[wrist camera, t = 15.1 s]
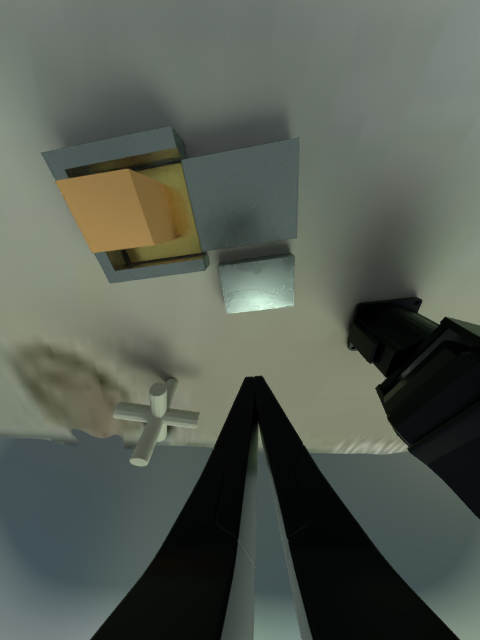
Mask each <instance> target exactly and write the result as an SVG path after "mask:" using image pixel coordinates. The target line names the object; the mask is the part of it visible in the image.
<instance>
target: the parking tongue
mask: <svg viewBox="0 0 480 640" xmlns="http://www.w3.org/2000/svg"><path fill="white" fill-rule="evenodd" d="M294 261H295V256H294V255H293V254H291V253H288V254H280V255H273V256H266V257H258V258H251V259H244V260H237V261H229V262H222V263H219V265H218V270H219V275H220V280H221V286H222V291H223V296H224V301H225V306H226V311H227V314H229V313H237V312H246V311H255V310H264V309H273V308H282V307H290V306H294Z"/></svg>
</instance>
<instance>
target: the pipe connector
mask: <svg viewBox="0 0 480 640" xmlns="http://www.w3.org/2000/svg"><path fill="white" fill-rule="evenodd" d="M178 385H179V382H178V381H177V380H176V379H168V380H167V382H166V384H163V383H156V384H154V385H152V386H151V388H150V390H149V396H150V406H148V405H141V404H134V403H127V402H119V403H118V405H117V406H116V408H115V410H114V413H113V417H114V418H117V419H125V420H133V421H141V422H147V425H146V427H145V429H144V431H143V433H142V435H141V437H140V439H139V442H138V444H137V446H136V448H135V450H134V452H133V454H132V456H131V459H130V463H131V464H133V465H136V466H146V465H147V464H148V462H149V460H150V457H151V455H152V452H153V449H154V447H155V444H156V442H160V441H162V440H164V439H165V437H166V436H167V425H172V426H179V427H187V428H195V429H197V425H198V420H199V415H200V413H199V412H192V411H185V410H178V409H170V406H171V403H172V401H173V398H174V395H175V393H176V390H177V388H178Z"/></svg>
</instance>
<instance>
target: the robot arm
mask: <svg viewBox="0 0 480 640" xmlns="http://www.w3.org/2000/svg"><path fill="white" fill-rule="evenodd" d="M421 303H422V299H420V298H418V297H413V298H404V299H395V300H386V301H376V302H367V303H360V304H358V305H357V307H356V311H355V315H354V319H353V322H352V325H351V330H350V334H349V339H348V340H349V342H348V349H349V350H350V351H357V350H358V351H359V352H360V354H361V355H362V356H363V357H364V358H365V359H366V360H367V362H369V363H370V364H372V363H373V364H374V365H375V366H376V367H377V368H378V369H379V370H380V372H381V373H382V374H383V375H384V376H385V377H387V378H386V379H385V380H384V381H383V382H382V383H381V384H379V385H378V386H377V387H376V388H375V389H376V391H377V393H378V396H379V398H380V400H381V403H382V405H383V407H384V410H385V412H386V414H387V419H388V421H389V423H390V424H391V426H392V427H393V429H394V431H395V432H396V434H397V435H398V436H399V437H400V438H401V439H402V440H403V442H405V443H406V444H407V445H408V446H409V447H408V451H409V452H410V453H411V454H413V455H414V456H415V457H417V458H418V459H419V460H420V461H422V462H423V463H424V464H426V465H427V466H428V467H429V468H430V469H432V470H433V471H434V472H435V473H436V474H437V475H438V476H439V477H440V478H441V479H442V480H443V481H444V482H445V483H446V484H447V485H448V486H449V487H450V488H451V489H452V490H453V491H454V492H455V493H456V494H457V495H458V497H459V498H460V499H461V500H462V501H463V502H464V503H465V504H466V505H467V506H468V508H469V509H470V510H471V511H472V512H473V513H474V514H475V515H476V516H477V517H478V518H479V519H480V325H476V324H472V323H468V322H464V321H460V320H457V319H453V318H449V317H445V318H444V319H443V320H442V321H441V322H440V323H441V324H440V325H439V324H437V323H435V322H434V321H432V320H430V319H428V318H426V317H424V316H422V315H421V314H419V313H418V310H419V308H420V306H421ZM362 307H363V308H362ZM361 308H362V309H361ZM258 423H259V429H260V434H261V439H262V444H263V449H264V454H265V459H266V464H267V469H268V474H269V479H270V483H271V489H272V493H273V498H274V504H275V508H276V514H277V519H278V524H279V528H280V534H281V539H282V543H283V549H284V554H285V559H286V564H287V567H288V573H289V579H290V584H291V588H292V594H293V599H294V604H295V608H296V614H297V619H298V624H299V628H300V633H301V638H302V640H460V639H459V638H458V637H457V636H456V635H455V634H454V633H453V632H452V631H451V630H450V629H449V628H448V627H447V625H446V624H445V623H444V622H443V621H442V620H441V619H440V618H439V617H438V616H437V615H436V614H435V613H434V612H433V611H432V610H431V609H430V608H429V606H428V605H427V604H426V603H425V602H424V601H423V600H422V599H421V598H420V597H419V596H418V595H417V594H416V593H415V592H414V591H413V590H412V589H411V587H409V585H408V584H407V583H406V582H405V581H404V580H403V579H402V578H401V577H400V576H399V574H397V572H396V571H395V570H394V569H393V567H392V566H391V565H390V564H389V563H388V561H387V560H386V559H385V558H384V556H383V555H382V554H381V553H380V551H379V550H378V549H377V548H376V546H375V545H374V544H373V542H372V541H371V540H370V539H369V537H368V536H367V534H366V533H365V532H364V530H363V529H362V528H361V526H360V525H359V523H358V522H357V521H356V519H355V518H354V517H353V515H352V514H351V513H350V512H349V510H348V509H347V507H346V506H345V505H344V503H343V502H342V501H341V499H340V498H339V496H338V495H337V494H336V492H335V491H334V490H333V488H332V487H331V485H330V484H329V483H328V481H327V480H326V478H325V477H324V476H323V474H322V473H321V471H320V470H319V468H318V467H317V465H316V463H315V462H314V460H313V459H312V457H311V455H310V454H309V452H308V450H307V449H306V447H305V446H304V445H303V442H302V441H301V439H300V437H299V436H298V434H297V432H296V431H295V429H294V427H293V426H292V424H291V423H290V421H289V419H288V418H287V416H286V414H285V413H284V411H283V409H282V408H281V406H280V404H279V403H278V401H277V399H276V398H275V396H274V394H273V393H272V391H271V389H270V388H269V386H268V384H267V383H266V381H265V379H264V378H263V376H255V377H252V376H251V377H245V379H244V381H243V383H242V385H241V387H240V390H239V392H238V394H237V396H236V399H235V401H234V403H233V405H232V408H231V410H230V412H229V414H228V417H227V419H226V421H225V423H224V426H223V428H222V430H221V432H220V435H219V437H218V439H217V441H216V444H215V446H214V449H213V450H212V452H211V455H210V457H209V459H208V461H207V463H206V466H205V468H204V470H203V472H202V474H201V476H200V478H199V480H198V482H197V483H196V485H195V487H194V489H193V491H192V493H191V495H190V497H189V498H188V500H187V502H186V503H185V505H184V507H183V509H182V511H181V512H180V514H179V516H178V518H177V519H176V521H175V523H174V525H173V527H172V528H171V530H170V532H169V534H168V536H167V537H166V539H165V541H164V543H163V544H162V546H161V548H160V550H159V551H158V553H157V554H156V556H155V557H154V559H153V560H152V562H151V563H150V565H149V566H148V568H147V569H146V571H145V572H144V573H143V575H142V576H141V577H140V579H139V580H138V581H137V582H136V584H135V585H134V586H133V587H132V589H131V590H130V591H129V592H128V593H127V595H126V596H125V597H124V599H123V600H122V601H121V602H120V603H119V605H118V606H117V607H116V609H115V610H114V611H113V612H112V613H111V615H110V616H109V617H108V618H107V619H106V621H105V622H104V623H103V624H102V626H101V627H100V628H99V629H98V630H97V632H96V633H95V634H94V635H93V637H92V638H91V639H90V640H253V631H254V629H253V628H254V590H255V586H254V585H255V568H254V567H255V547H256V545H255V544H256V505H257V463H258Z"/></svg>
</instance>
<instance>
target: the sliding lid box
mask: <svg viewBox="0 0 480 640" xmlns="http://www.w3.org/2000/svg"><path fill="white" fill-rule="evenodd" d="M41 154H42V156H43V157H44V159H45V161H46V163H47V165H48V167H49V169H50V171H51V173H52V175H53V176H54V178H55V180H56V181H57V180H63V179H69V178H75V177H80V176H86V175H92V174H98V173H104V172H110V171H116V170H122V169H130V170H132V169H137V168H143V167H148V166H153V165H158V164H164V163H169V162H174V161H180V160H181V162H182V164H181V163H178V164H172V165H167V166H162V167H156V168H151V169H146V170H141V171H135V172H137V173H140V174H142V175H144V176H146V177H149V178H151V179H153V180H155V181H158V182H160V183H162V184H164V188H165V191H166V195H167V199H168V202H169V206H170V210H171V213H172V217H173V221H174V225H175V228H176V232H177V236H178V238H177V239H173V240H170V241H166V242H163V243H160V244H156V245H151V246H143V247H136V248H128V249H126V252H127V254H128V256H129V258H130V261H131V263H133V262H140V261H147V260H154V259H161V258H168V257H175V256H182V255H189V254H196V253H202V252H203V251H210V250H217V249H224V248H231V247H238V246H245V245H252V244H259V243H266V242H273V241H280V240H287V239H294V238H297V204H298V166H299V138H294V139H289V140H283V141H278V142H273V143H268V144H262V145H257V146H252V147H247V148H241V149H236V150H231V151H225V152H220V153H215V154H210V155H204V156H199V157H194V158H189V159H187V157H186V152H185V147H184V143H183V140H182V139H181V138H180V137H179V135H178V134H177V133H176V131H175V130H174V129H173V127H172V126H167V127H163V128H158V129H153V130H148V131H143V132H139V133H134V134H129V135H124V136H119V137H114V138H110V139H105V140H100V141H95V142H90V143H85V144H81V145H76V146H71V147H66V148H61V149H57V150H52V151H47V152H42V153H41ZM182 166H183V167H182ZM183 171H184V172H183ZM184 175H185V176H184ZM185 179H186V180H185ZM186 184H187V185H186ZM187 188H188V189H187ZM188 192H189V193H188ZM189 197H190V198H189ZM190 201H191V202H190ZM191 205H192V206H191ZM192 210H193V211H192ZM193 214H194V215H193ZM194 218H195V219H194ZM195 223H196V224H195ZM196 227H197V228H196ZM197 231H198V232H197ZM198 236H199V237H198ZM199 240H200V241H199ZM200 244H201V245H200ZM201 249H202V250H201ZM94 254H95V256H96V258H97V260H98V262H99V263H100V265H101V267H102V269H103V271H104V273H105V275H106V277H107V279H108V281H109V282H110V283H117V282H124V281H131V280H139V279H146V278H154V277H161V276H169V275H176V274H183V273H191V272H198V271H205V270H206V269H207V267H208V266H209V265H210V263H209V258H208V254H202V255H195V256H188V257H181V258H174V259H167V260H160V261H153V262H146V263H139V264H132V265H130V262H129V260H128V258H127V256H126V253H125V251H124V249H120V250H113V251H105V252H98V253H94Z"/></svg>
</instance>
